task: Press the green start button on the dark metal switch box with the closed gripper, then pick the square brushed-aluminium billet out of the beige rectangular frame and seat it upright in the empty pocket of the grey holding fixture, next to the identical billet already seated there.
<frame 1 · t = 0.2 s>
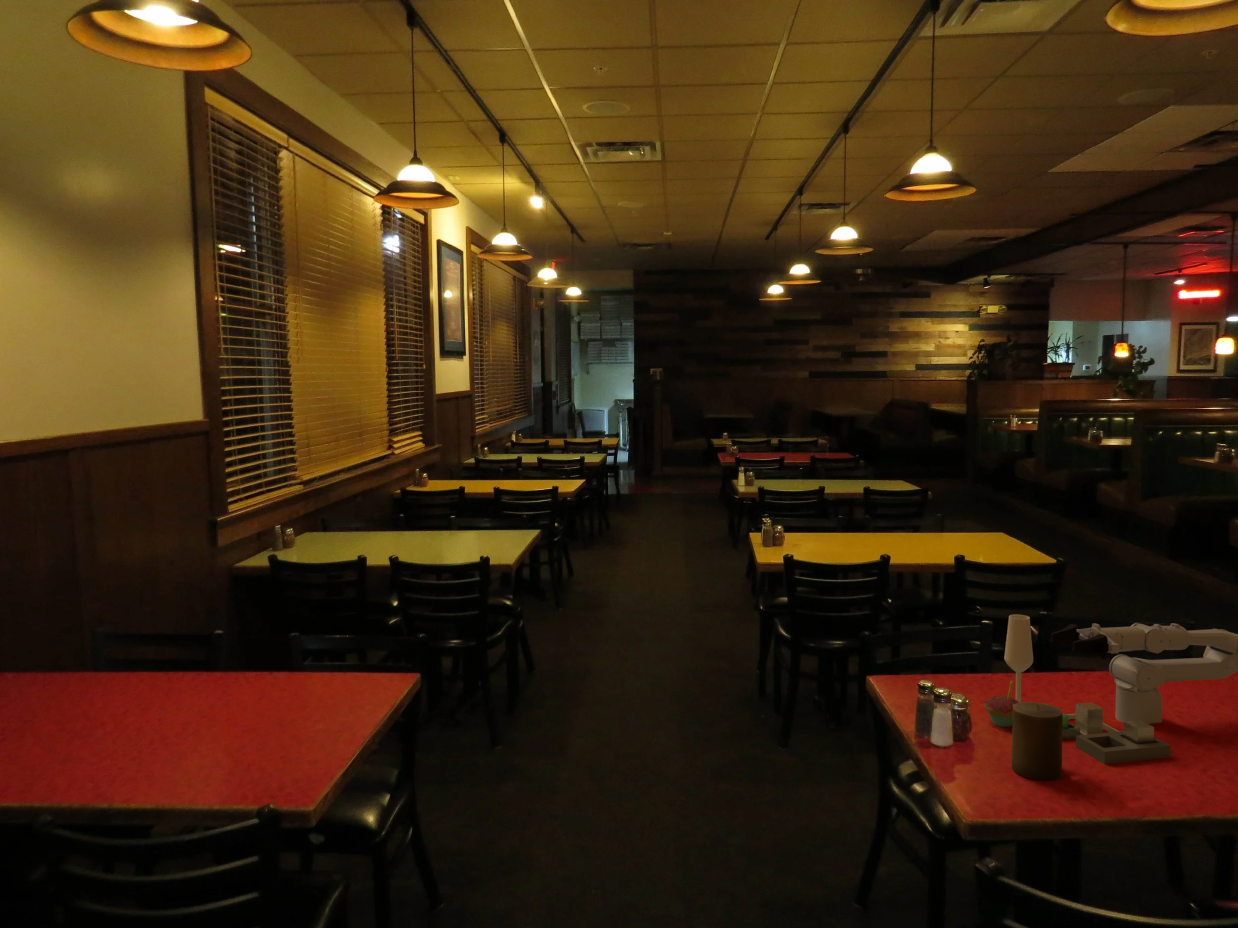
hand: (1062, 642, 203), 21 cm above the table, tool horizontal, fingers open, 7 cm apart
switch box: (1059, 736, 200), on the table
start button: (1059, 722, 200), point 3 cm above the table, slide at 0.0 cm
pillar candle: (1036, 771, 183), on the table
champagne flute: (1018, 709, 218), on the table
grey holding fixture: (1122, 755, 189), on the table
billet: (1088, 730, 202), point 1 cm above the table, touching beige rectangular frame
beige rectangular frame: (1087, 732, 202), on the table
cupcake: (1003, 726, 208), on the table
seated billet: (1138, 750, 190), point 1 cm above the table, touching grey holding fixture
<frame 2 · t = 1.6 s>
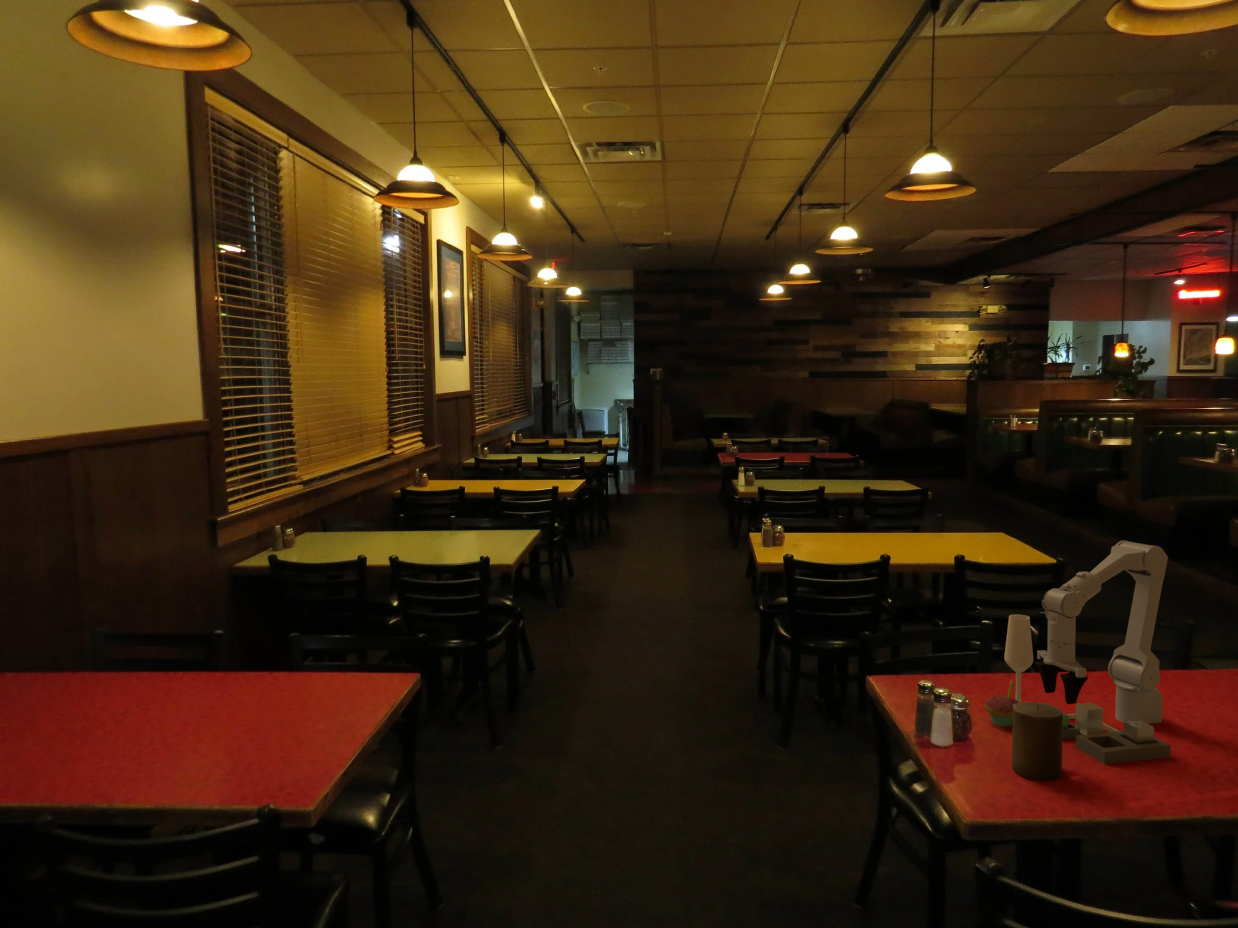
hand: (1060, 697, 199), 9 cm above the table, tool pointing down, fingers open, 7 cm apart
nothing on the table moved.
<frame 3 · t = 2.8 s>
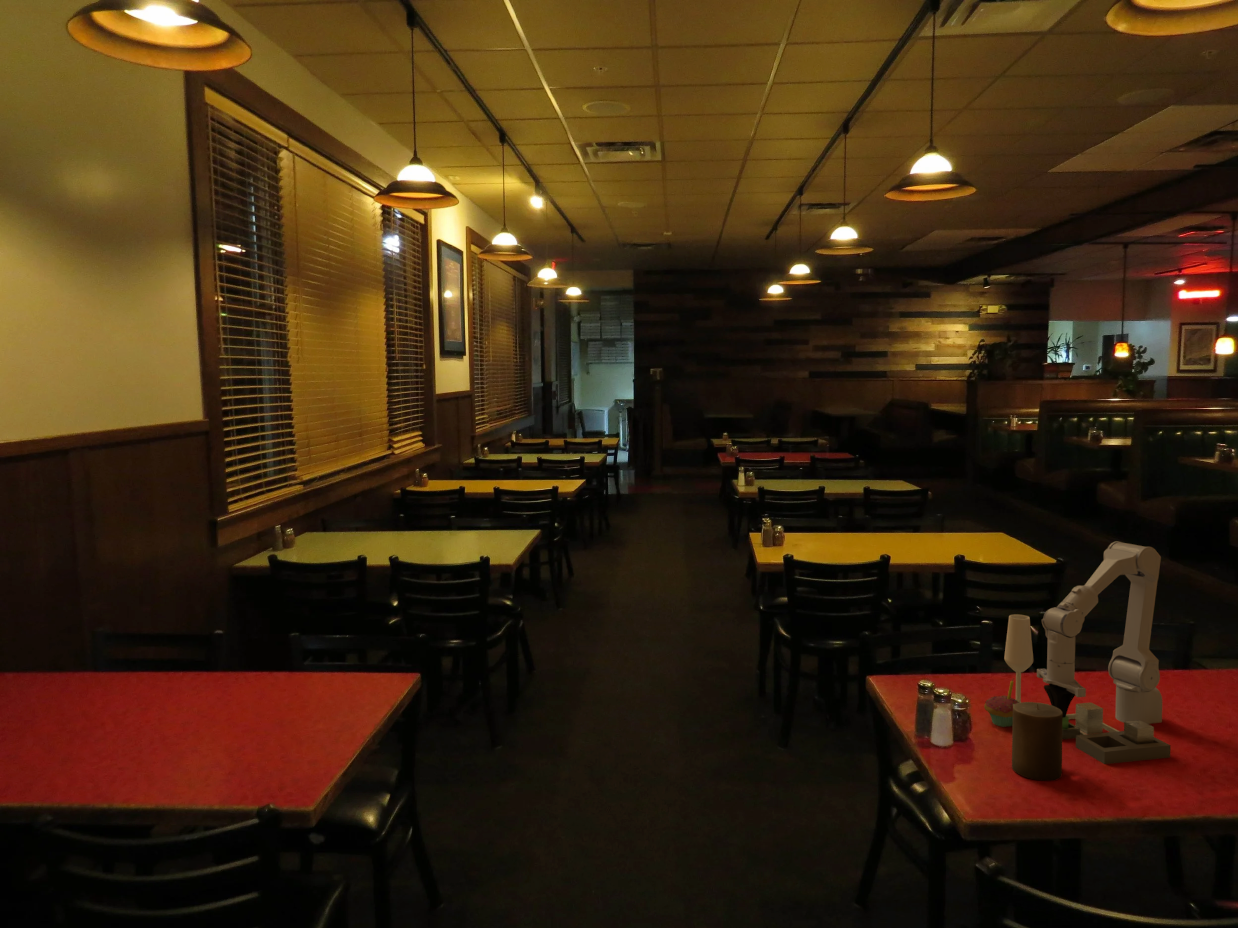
hand: (1059, 716, 200), 5 cm above the table, tool pointing down, fingers closed, pressing on start button
start button: (1059, 723, 200), point 3 cm above the table, slide at 0.3 cm, touching gripper
everything else where it was.
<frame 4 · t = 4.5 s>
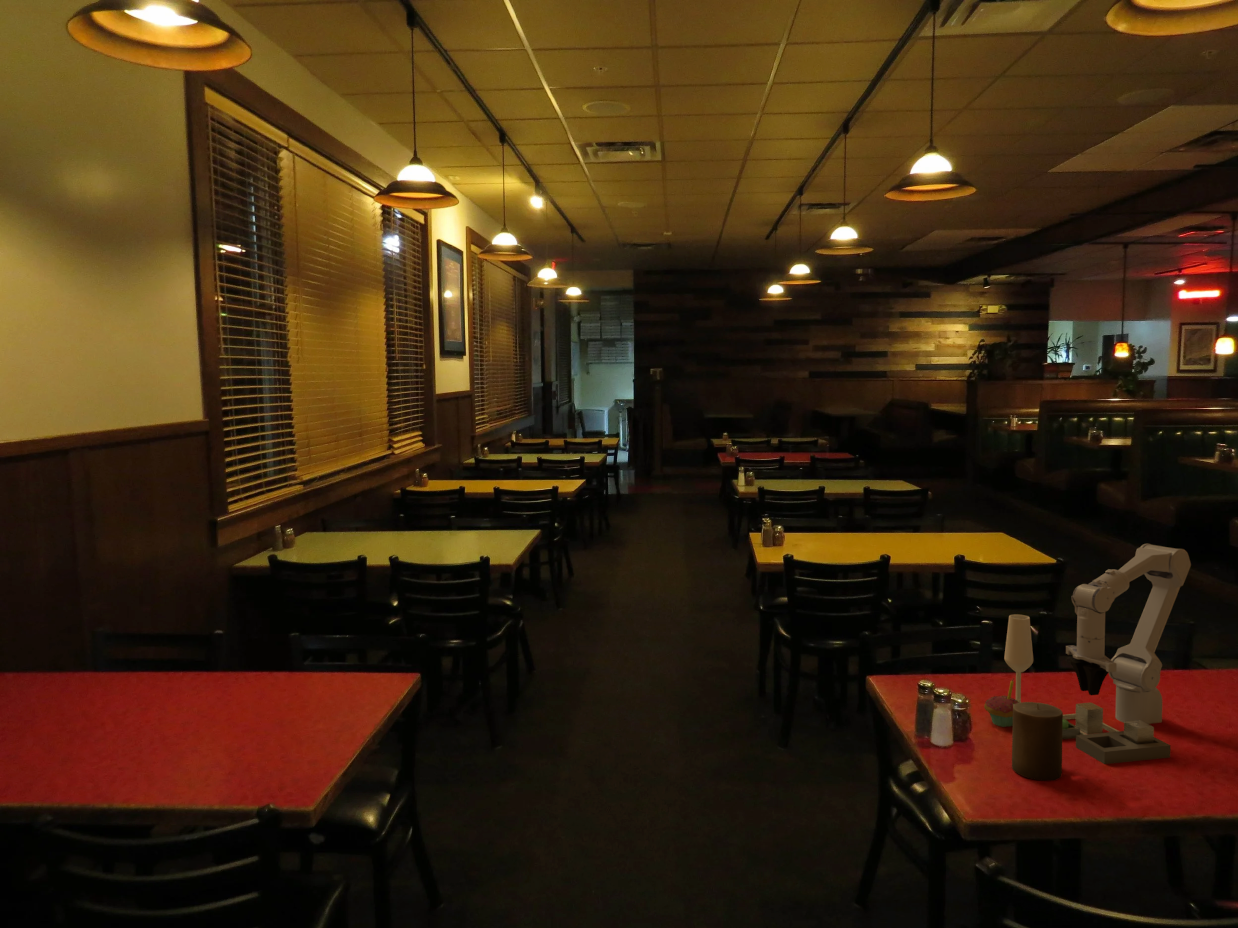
hand: (1089, 692, 201), 10 cm above the table, tool pointing down, fingers closed
start button: (1059, 728, 200), point 2 cm above the table, slide at 1.3 cm
everything else where it was.
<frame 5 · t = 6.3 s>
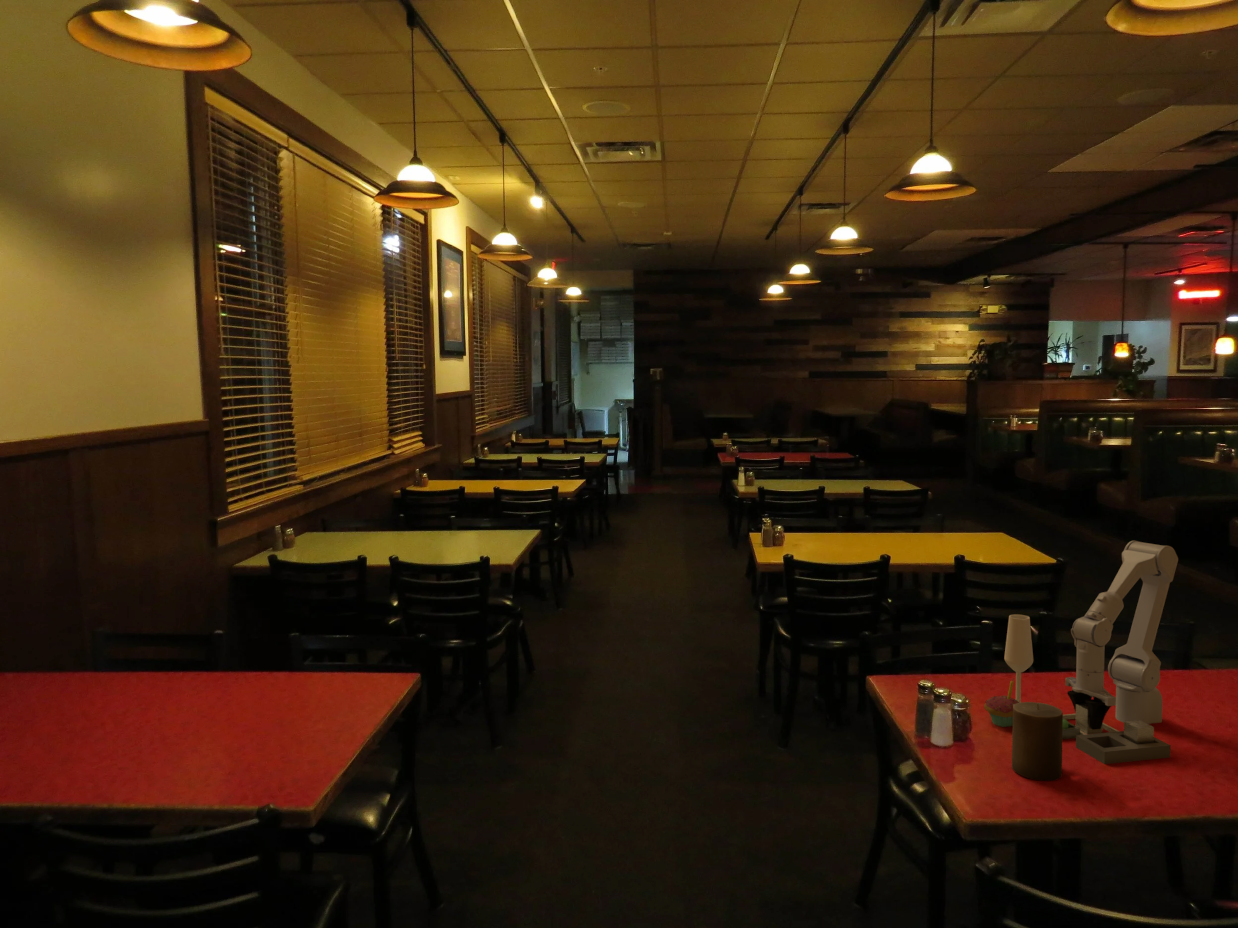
hand: (1088, 724, 202), 2 cm above the table, tool pointing down, fingers closed on billet, 4 cm apart
billet: (1088, 730, 202), point 1 cm above the table, touching gripper, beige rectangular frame
everything else where it was.
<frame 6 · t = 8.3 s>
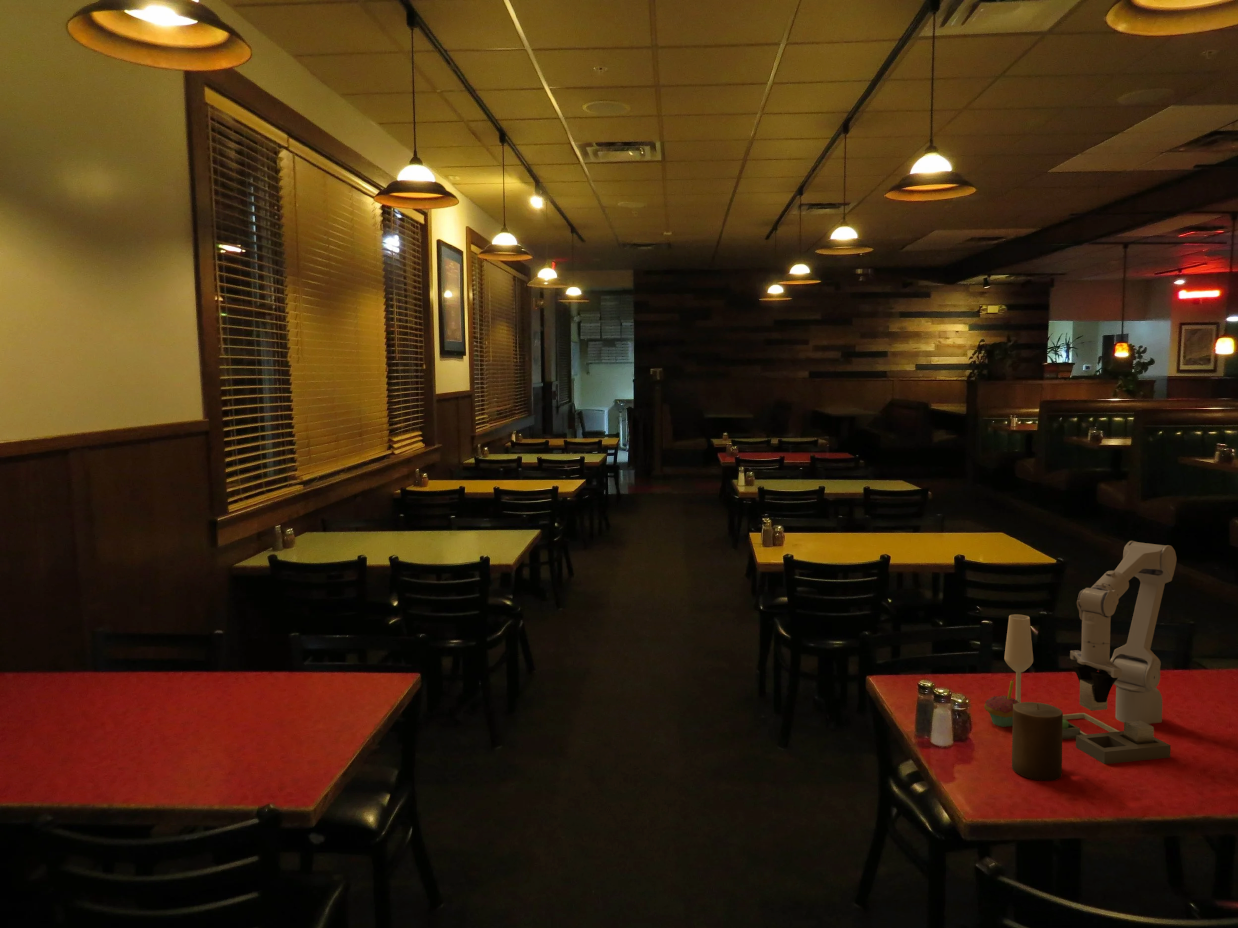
hand: (1094, 698, 197), 10 cm above the table, tool pointing down, fingers closed on billet, 4 cm apart
billet: (1093, 706, 197), point 8 cm above the table, touching gripper
everything else where it was.
when the fingers open (4 cm above the table, at t = 10.4 s): billet stays where it is, resting on grey holding fixture.
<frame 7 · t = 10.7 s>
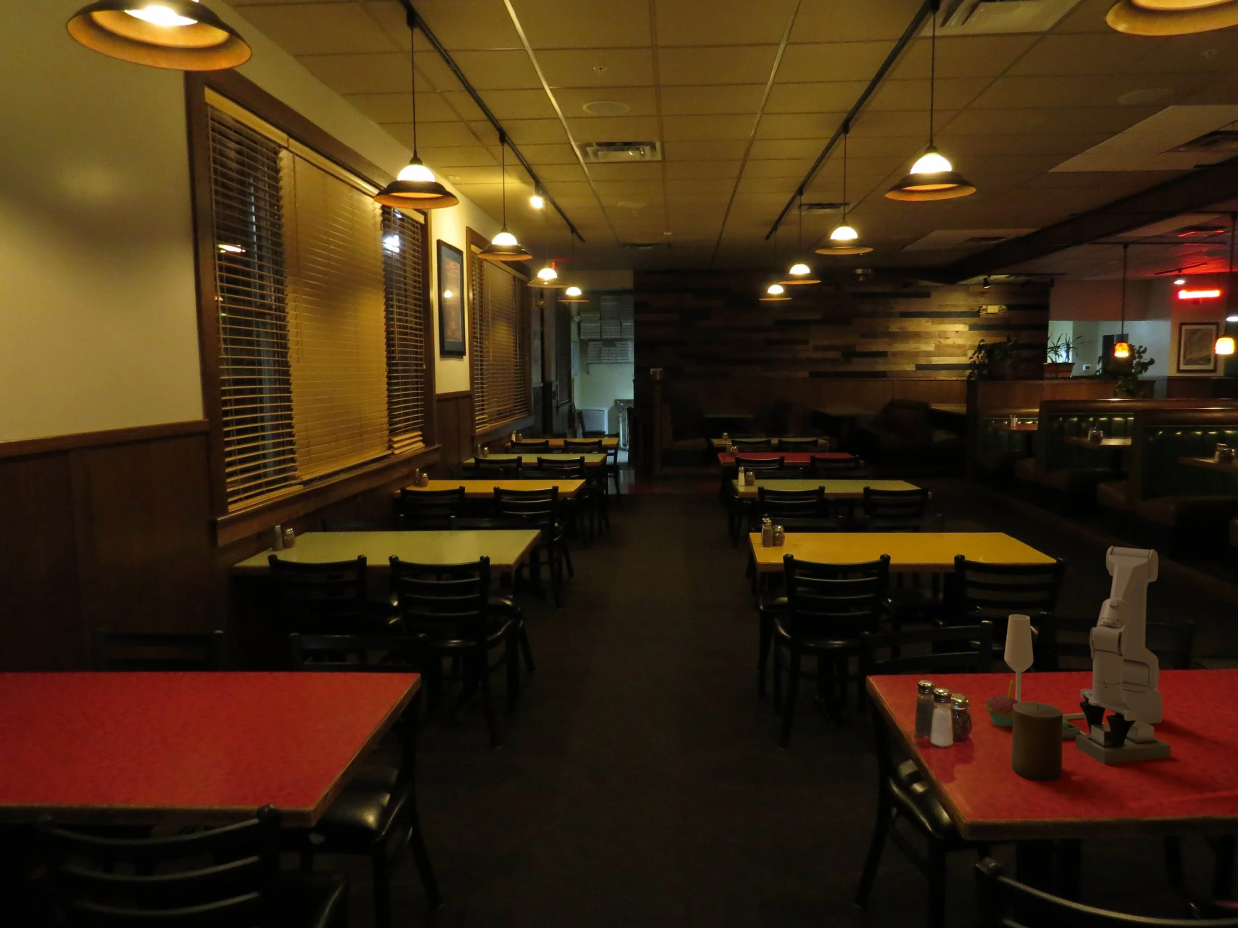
hand: (1106, 740, 188), 4 cm above the table, tool pointing down, fingers open, 6 cm apart
billet: (1105, 753, 189), point 1 cm above the table, touching grey holding fixture
everything else where it was.
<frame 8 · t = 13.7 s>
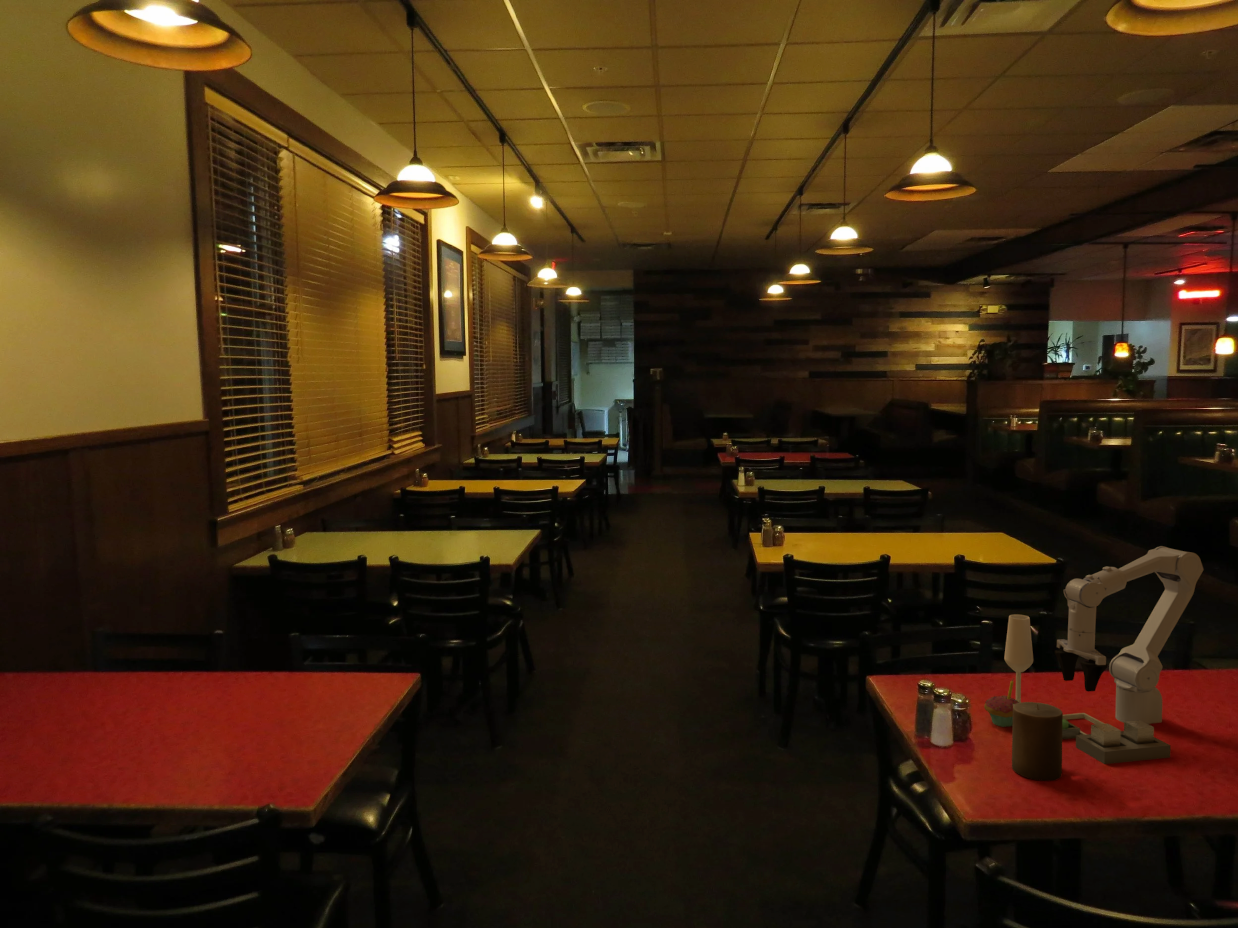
hand: (1079, 685, 205), 10 cm above the table, tool pointing down, fingers open, 7 cm apart
nothing on the table moved.
at the end: billet 0.2 cm from the target spot on the grey holding fixture, point 0.8 cm above the grey holding fixture's base; billet tilted 0°; start button slide at 1.3 cm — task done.
